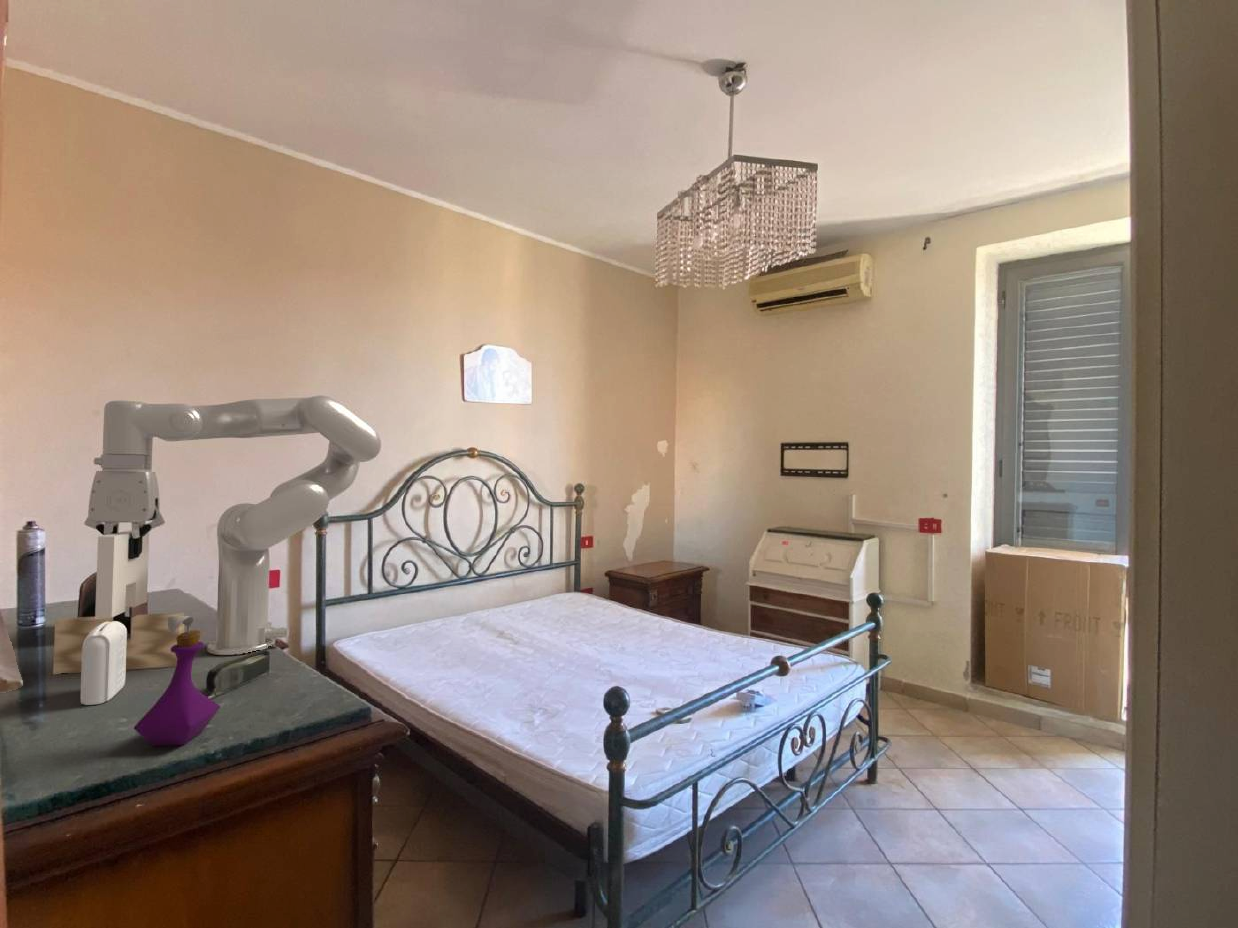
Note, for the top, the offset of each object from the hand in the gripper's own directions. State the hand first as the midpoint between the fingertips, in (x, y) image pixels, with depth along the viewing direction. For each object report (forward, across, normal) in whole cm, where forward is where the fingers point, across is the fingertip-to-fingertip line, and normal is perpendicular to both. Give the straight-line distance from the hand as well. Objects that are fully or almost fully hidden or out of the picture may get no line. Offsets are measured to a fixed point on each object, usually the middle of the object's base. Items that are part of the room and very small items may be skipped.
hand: (124, 557), depth 116 cm
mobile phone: (+22, +24, -16) cm, 36 cm away
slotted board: (+22, 0, 0) cm, 22 cm away
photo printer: (+22, +4, -16) cm, 27 cm away
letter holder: (+22, -15, +32) cm, 42 cm away
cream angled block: (+10, 0, 0) cm, 10 cm away
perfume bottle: (+22, +23, -38) cm, 49 cm away
